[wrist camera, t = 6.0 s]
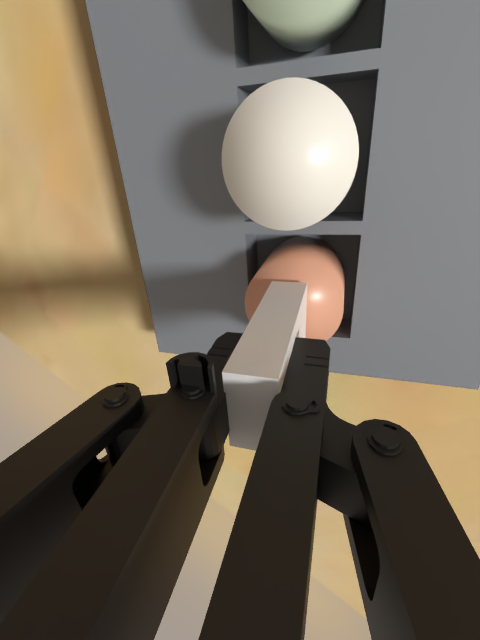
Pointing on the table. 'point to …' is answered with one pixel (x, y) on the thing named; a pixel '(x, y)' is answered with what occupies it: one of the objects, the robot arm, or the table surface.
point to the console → (354, 210)
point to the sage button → (304, 20)
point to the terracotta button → (309, 267)
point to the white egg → (290, 154)
